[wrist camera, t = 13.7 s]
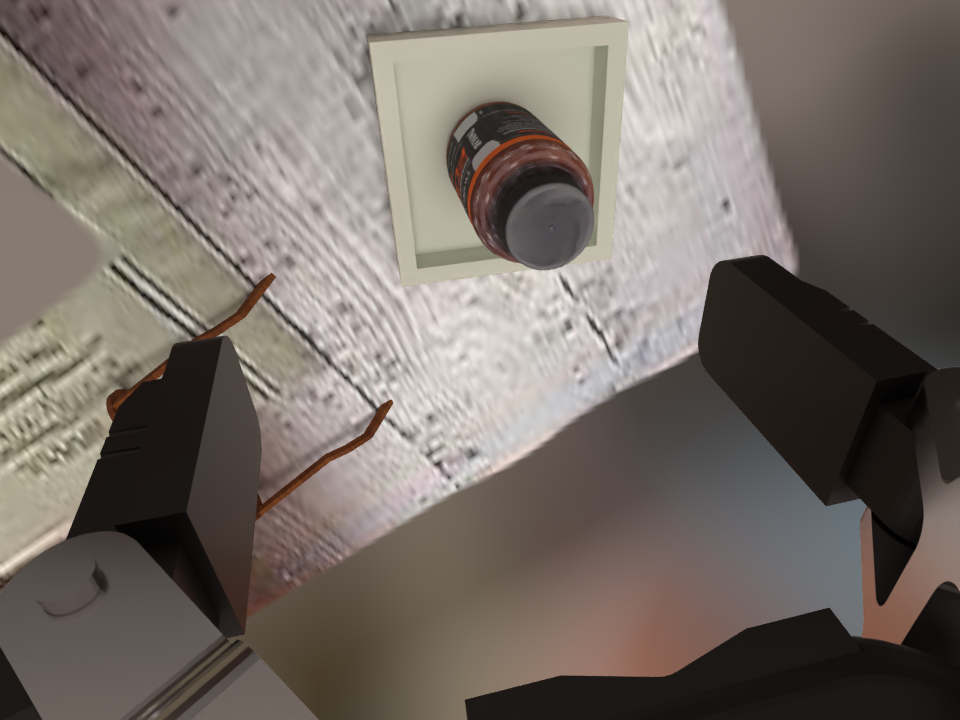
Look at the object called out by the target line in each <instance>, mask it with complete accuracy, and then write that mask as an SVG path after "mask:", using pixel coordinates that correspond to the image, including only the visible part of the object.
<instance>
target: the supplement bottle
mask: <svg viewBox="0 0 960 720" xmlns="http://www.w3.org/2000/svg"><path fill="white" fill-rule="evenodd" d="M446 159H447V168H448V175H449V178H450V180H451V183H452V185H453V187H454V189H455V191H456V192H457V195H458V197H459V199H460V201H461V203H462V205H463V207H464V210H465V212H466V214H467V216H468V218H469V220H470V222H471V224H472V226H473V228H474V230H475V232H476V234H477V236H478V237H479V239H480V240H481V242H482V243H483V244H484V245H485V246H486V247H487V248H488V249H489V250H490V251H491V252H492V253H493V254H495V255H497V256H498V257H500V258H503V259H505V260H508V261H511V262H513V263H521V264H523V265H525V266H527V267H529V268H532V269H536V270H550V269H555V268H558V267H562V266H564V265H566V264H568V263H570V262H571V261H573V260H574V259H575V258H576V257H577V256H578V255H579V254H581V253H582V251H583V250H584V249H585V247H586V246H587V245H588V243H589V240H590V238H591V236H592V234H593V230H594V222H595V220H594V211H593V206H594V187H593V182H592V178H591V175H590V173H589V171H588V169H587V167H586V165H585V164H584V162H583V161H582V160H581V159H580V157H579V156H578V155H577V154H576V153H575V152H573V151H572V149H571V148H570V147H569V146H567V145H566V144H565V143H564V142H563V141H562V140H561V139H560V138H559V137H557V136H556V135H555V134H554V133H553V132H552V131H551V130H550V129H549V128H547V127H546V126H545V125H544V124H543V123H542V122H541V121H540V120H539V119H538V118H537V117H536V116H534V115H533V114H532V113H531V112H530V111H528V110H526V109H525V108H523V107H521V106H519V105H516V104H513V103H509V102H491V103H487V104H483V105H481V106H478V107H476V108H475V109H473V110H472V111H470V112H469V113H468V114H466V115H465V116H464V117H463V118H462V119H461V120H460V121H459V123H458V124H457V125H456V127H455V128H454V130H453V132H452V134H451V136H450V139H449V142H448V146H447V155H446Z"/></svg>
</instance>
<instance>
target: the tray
mask: <svg viewBox="0 0 960 720" xmlns="http://www.w3.org/2000/svg"><path fill="white" fill-rule="evenodd" d="M628 26H629V21H625V20H621V19H617V18H613V17H609V16H601V17H588V18H576V19H563V20H551V21H538V22H525V23H513V24H500V25H488V26H475V27H462V28H450V29H437V30H425V31H412V32H399V33H387V34H374V35H367V42H368V49H369V56H370V64H371V71H372V78H373V86H374V93H375V101H376V108H377V115H378V123H379V130H380V137H381V145H382V152H383V159H384V167H385V174H386V182H387V189H388V196H389V204H390V211H391V218H392V226H393V233H394V240H395V248H396V255H397V262H398V268H399V273H400V279H401V284H402V286H410V285H417V284H425V283H432V282H440V281H447V280H455V279H462V278H470V277H477V276H485V275H492V274H500V273H508V272H515V271H523V270H530V269H532V268H529V267H527V266H525V265H523V264H521V263H513V262H511V261H508V260H505V259H503V258H500V257H498V256H497V255H495V254H493V253H492V252H491V251H490V250H489V249H488V248H487V247H486V246H485V245H484V244H483V243H482V242H481V240H480V239H479V237H478V236H477V234H476V232H475V230H474V228H473V226H472V224H471V222H470V220H469V218H468V216H467V214H466V212H465V210H464V207H463V205H462V203H461V201H460V199H459V197H458V195H457V192H456V191H455V189H454V187H453V185H452V183H451V180H450V178H449V175H448V168H447V159H446V155H447V146H448V142H449V139H450V136H451V134H452V132H453V130H454V128H455V127H456V125H457V124H458V123H459V121H460V120H461V119H462V118H463V117H464V116H465V115H466V114H468V113H469V112H470V111H472V110H473V109H475V108H476V107H478V106H481V105H483V104H487V103H491V102H509V103H513V104H516V105H519V106H521V107H523V108H525V109H526V110H528V111H530V112H531V113H532V114H533V115H534V116H536V117H537V118H538V119H539V120H540V121H541V122H542V123H543V124H544V125H545V126H546V127H547V128H549V129H550V130H551V131H552V132H553V133H554V134H555V135H556V136H557V137H559V138H560V139H561V140H562V141H563V142H564V143H565V144H566V145H567V146H569V147H570V148H571V149H572V151H573V152H575V153H576V154H577V155H578V156H579V157H580V159H581V160H582V161H583V162H584V164H585V165H586V167H587V169H588V171H589V173H590V175H591V178H592V182H593V187H594V206H593V211H594V220H595V222H594V230H593V234H592V236H591V238H590V240H589V243H588V245H587V246H586V247H585V249H584V250H583V251H582V253H581V254H579V255H578V256H577V257H576V258H575V259H574V260H573V261H571V262H570V263H568V264H575V263H583V262H590V261H598V260H605V259H611V254H612V240H613V227H614V213H615V200H616V187H617V173H618V160H619V146H620V133H621V120H622V106H623V93H624V79H625V66H626V53H627V39H628ZM568 264H566V265H568Z"/></svg>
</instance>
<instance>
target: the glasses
mask: <svg viewBox="0 0 960 720" xmlns="http://www.w3.org/2000/svg"><path fill="white" fill-rule="evenodd" d="M275 278H276V277H275V276H274V275H273V274H272V273H271V274H270V275H268V276H267V277H265V278H264V279H263V280H261V281H260V282H259V284H258V285H257V286H256V288H255V289H254V290H253V291H252V293H251V294H250V295H249V297H248V298H247V299H246V301H245V302H244V303H243V304H242V306H241V307H240V308H239V310H238V311H237V312H236V313H235V314H233V315H232V316H230V317H229V318H227V319H226V320H224V321H223V322H221V323H220V324H218V325H217V326H215V327H213V328H212V329H210V330H208V331H206V332H204V333H203V334H201V335H199V336H197V337H195V338H194V339H192V340H191V341H194V340H200V339H207V338H213V337H216V336H218V335H220V334H221V333H223V332H224V331H226V330H227V329H229V328H230V327H232V326H233V325H234V324H236V323H237V322H239V321H240V320H242V319H243V318H245V317H246V316H247V314H248V313H249V312H250V310H251V309H252V308H253V306H254V305H255V304H256V302H257V301H258V300H259V299H260V297H261V296H262V295H263V293H264V292H265V291H266V289H267V288H268V287H269V285H270V284H271V283H272V282H273V280H274V279H275ZM168 359H169V358H168ZM168 359H167V360H166V361H165V362H163V363H162V364H161V365H159V366H158V367H157V368H156V369H154V370H153V371H152V372H151V373H149V374H148V375H147V376H145V377H144V378H143V379H142V380H140V381H139V382H138V383H137V384H135V385H134V386H133V387H132V388H130V389H129V390H124V389H118V390H115V391H114V392H113V393H112V394H110V395H109V396H108V398H107V402H106V406H107V411H108V414H109V416H110V418H111V420H112V421H113V420H114V417H115V415H116V412H117V410H118V407H119V406H120V405H121V404H122V403H123V401H124V400H125V399H126V398H127V397H128V396H129V395H130V394H131V393H132V392H133V391H134V390H135V389H136V388H137V387H138V386H139V385H140V384H141V383H142V382H144V381H151V380H156V379H157V378H158V377H160V376H161V375H162V374H164V371H165V368H166V365H167V362H168ZM392 404H393V401H392V399H391V400H389V401H387V402H386V403H384V404H382V405H381V406H380V408H379V410H378V411H377V413H376V414H375V416H374V418H373V419H372V421H371V422H370V424H369V426H368V427H367V429H366V430H365V432H364V434H362V435H361V436H359V437H357V438H356V439H354V440H352V441H351V442H349V443H348V444H346V445H344V446H342V447H340V448H338V449H336V450H333V451H331V452H329V453H327V454H325V455H324V456H323V457H321V458H320V459H319V460H318V461H316V462H315V463H314V464H313V465H311V466H310V467H309V468H307V469H306V470H305V471H304V472H302V473H301V474H300V475H299V476H297V477H296V478H295V479H294V480H292V481H291V482H290V483H289V484H287V485H286V486H285V487H283V488H282V489H281V490H280V491H278V492H277V493H276V494H275V495H273V496H272V497H271V498H270V499H268V500H267V501H266V502H265V503H263V504H262V502H261V499H260V497H259V494H258V495H257V506H256V517H255V521H256V520H258V519H259V518H260V517H261V516H262V515H263V514H264V513H266V512H267V511H268V510H270V509H271V508H272V507H273V506H275V505H276V504H277V503H278V502H280V501H281V500H282V499H283V498H285V497H286V496H287V495H288V494H290V493H291V492H292V491H293V490H295V489H296V488H297V487H299V486H300V485H301V484H302V483H304V482H305V481H306V480H307V479H309V478H310V477H311V476H312V475H314V474H315V473H316V472H317V471H319V470H320V469H321V468H323V467H324V466H325V465H326V464H328V463H329V462H330V461H332V460H334V459H336V458H339V457H341V456H343V455H345V454H347V453H349V452H351V451H353V450H354V449H356V448H357V447H359V446H360V445H362V444H364V443H365V442H367V441H368V440H370V439H371V438H372V437H373V436H374V434H375V432H376V431H377V429H378V427H379V426H380V424H381V422H382V421H383V419H384V418H385V416H386V414H387V413H388V411H389V409H390V408H391V406H392Z"/></svg>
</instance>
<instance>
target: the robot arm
mask: <svg viewBox="0 0 960 720" xmlns="http://www.w3.org/2000/svg"><path fill="white" fill-rule="evenodd" d="M698 349H699V355H700V359H701V362H702V364H703V366H704V368H705V370H706V371H707V373H708V374H709V375H710V376H711V377H712V378H713V380H714V381H715V382H716V383H717V384H718V385H719V386H720V387H721V388H722V390H723V391H724V392H725V393H726V394H727V395H728V396H729V398H730V399H731V400H732V401H733V402H734V403H735V404H736V405H737V406H738V408H739V409H740V410H741V411H742V412H743V413H744V414H745V416H746V417H747V418H748V419H749V420H750V421H751V422H752V424H753V425H754V426H755V427H756V428H757V429H758V430H759V431H760V433H762V435H763V436H764V437H765V438H766V439H767V440H768V441H769V443H770V444H771V445H772V446H773V447H774V448H775V449H776V451H778V453H779V454H780V455H781V456H782V457H783V458H784V459H785V461H786V462H787V463H788V464H789V465H790V466H791V467H792V469H793V470H794V471H795V472H796V473H797V474H798V475H799V476H800V477H801V479H802V480H803V481H804V482H805V483H806V484H807V485H808V486H809V488H810V489H811V490H812V491H813V492H814V493H815V494H816V496H817V497H818V498H819V499H820V500H821V501H822V502H823V503H824V505H825V506H829V505H834V504H838V503H842V502H847V501H851V500H856V499H861V500H862V501H863V502H864V503H865V504H866V505H867V506H866V509H865V511H864V513H863V515H862V517H861V520H860V538H861V564H862V589H863V615H864V623H863V633H862V637H856V636H851V635H850V634H849V633H848V631H847V630H846V629H845V628H844V626H843V625H842V624H841V622H840V621H839V620H838V618H837V617H836V616H835V614H834V613H833V612H832V610H831V609H830V608H826V609H822V610H818V611H814V612H811V613H807V614H803V615H799V616H795V617H791V618H787V619H783V620H779V621H775V622H771V623H767V624H763V625H759V626H755V627H751V628H747V629H745V630H743V631H742V632H740V633H738V634H737V635H735V636H734V637H732V638H730V639H729V640H727V641H726V642H724V643H722V644H721V645H719V646H718V647H716V648H714V649H713V650H711V651H710V652H708V653H706V654H705V655H703V656H702V657H700V658H698V659H697V660H695V661H693V662H692V663H690V664H689V665H687V666H686V667H684V668H682V669H681V670H679V671H677V672H675V673H673V674H671V675H669V676H665V677H621V676H617V677H616V676H557V677H553V678H549V679H545V680H541V681H538V682H533V683H530V684H525V685H522V686H518V687H514V688H510V689H506V690H502V691H498V692H494V693H490V694H486V695H482V696H478V697H474V698H470V699H466V700H465V705H466V713H467V720H960V367H948V368H941V369H939V370H937V369H936V368H934V367H933V366H932V365H930V364H929V363H928V362H926V361H925V360H923V359H922V358H921V357H919V356H918V355H916V354H915V353H913V352H912V351H911V350H909V349H908V348H906V347H905V346H903V345H902V344H901V343H899V342H898V341H896V340H895V339H894V338H892V337H891V336H889V335H888V334H886V333H885V332H884V331H882V330H881V329H879V328H878V327H877V326H875V325H874V324H870V325H869V324H868V320H867V319H865V318H864V317H863V316H861V315H860V314H858V313H857V312H855V311H854V310H853V311H850V310H849V307H848V306H847V305H846V304H844V303H843V302H841V301H840V300H839V299H837V298H836V297H834V296H833V295H831V294H830V293H829V292H827V291H826V290H823V289H821V288H818V287H816V286H813V285H811V284H808V283H806V282H803V281H801V280H799V279H798V278H797V277H795V276H794V275H793V274H791V273H790V272H789V271H787V270H786V269H784V268H783V267H782V266H780V265H779V264H778V263H776V262H775V261H773V260H772V259H771V258H769V257H767V256H765V255H757V256H750V257H744V258H737V259H731V260H724V261H720V262H718V263H717V264H716V265H715V266H714V268H713V269H712V272H711V275H710V279H709V285H708V290H707V295H706V301H705V306H704V311H703V317H702V322H701V327H700V333H699V339H698ZM261 450H262V449H261V434H260V427H259V422H258V418H257V414H256V411H255V408H254V405H253V402H252V399H251V396H250V393H249V390H248V387H247V384H246V381H245V378H244V375H243V372H242V369H241V366H240V363H239V360H238V357H237V354H236V351H235V348H234V346H233V344H232V342H231V340H230V338H229V337H228V336H220V337H213V338H207V339H200V340H194V341H187V342H181V343H176V344H174V345H173V347H172V349H171V353H170V356H169V359H168V362H167V365H166V368H165V371H164V374H163V377H162V379H157V380H151V381H144V382H142V383H141V384H140V385H139V386H138V387H137V388H136V389H135V390H134V391H133V392H132V393H131V394H130V395H129V396H128V397H127V398H126V399H125V400H124V401H123V403H122V404H121V405H120V406H119V407H118V410H117V412H116V415H115V417H114V420H113V422H112V425H111V427H110V430H109V437H106V440H105V443H104V445H103V448H102V450H101V453H100V455H101V459H98V460H97V463H96V465H95V468H94V470H93V473H92V475H91V478H90V480H89V483H88V485H87V488H86V490H85V493H84V496H83V498H82V501H81V503H80V506H79V508H78V511H77V513H76V516H75V518H74V521H73V523H72V526H71V528H70V531H69V533H68V536H67V538H66V541H63V542H61V543H59V544H57V545H55V546H53V547H51V548H49V549H48V550H46V551H44V552H43V553H41V554H40V555H38V556H37V557H35V558H34V559H32V560H31V561H30V562H29V563H28V564H26V565H25V566H24V567H23V568H22V569H21V570H20V571H19V572H18V573H17V574H16V575H15V576H14V577H13V578H12V579H11V580H10V581H9V582H8V584H7V585H6V586H5V587H4V589H3V590H2V592H1V594H0V720H318V719H317V717H315V715H314V714H313V713H312V712H311V711H310V710H309V709H308V708H307V707H306V706H305V705H304V704H303V703H302V702H301V700H299V698H298V697H297V696H296V695H295V694H294V693H293V692H292V691H291V690H290V689H289V688H288V687H287V686H286V685H285V684H284V683H283V681H282V680H281V679H280V678H279V677H278V676H277V675H276V674H275V673H274V672H273V671H272V670H271V669H270V668H269V667H268V666H267V664H266V663H265V662H264V661H263V660H262V659H261V658H260V657H259V656H258V655H257V654H256V653H255V652H254V651H253V650H252V649H251V648H250V647H249V646H247V645H246V644H245V643H244V642H242V641H240V640H237V641H235V642H234V643H233V644H232V643H231V642H230V641H228V640H227V639H226V638H230V637H234V636H239V635H243V634H245V626H246V616H247V605H248V594H249V583H250V572H251V561H252V550H253V539H254V528H255V517H256V506H257V495H258V484H259V474H260V463H261Z"/></svg>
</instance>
